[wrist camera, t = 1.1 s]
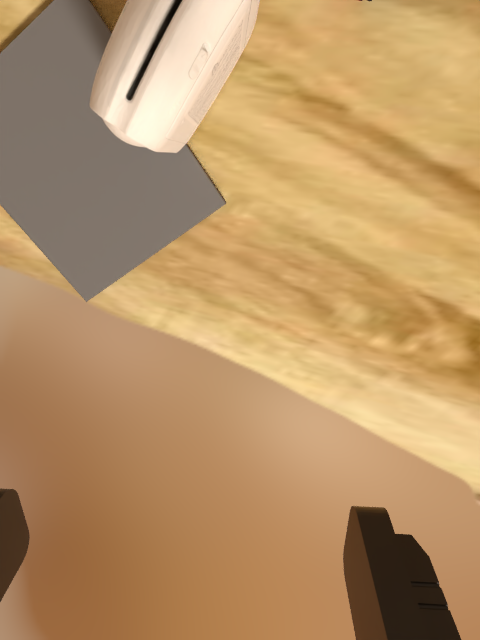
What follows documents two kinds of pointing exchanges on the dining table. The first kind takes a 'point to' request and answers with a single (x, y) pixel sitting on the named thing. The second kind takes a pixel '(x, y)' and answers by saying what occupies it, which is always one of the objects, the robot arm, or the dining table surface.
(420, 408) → the dining table surface
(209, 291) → the dining table surface
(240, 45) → the photo printer
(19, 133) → the gray mat
